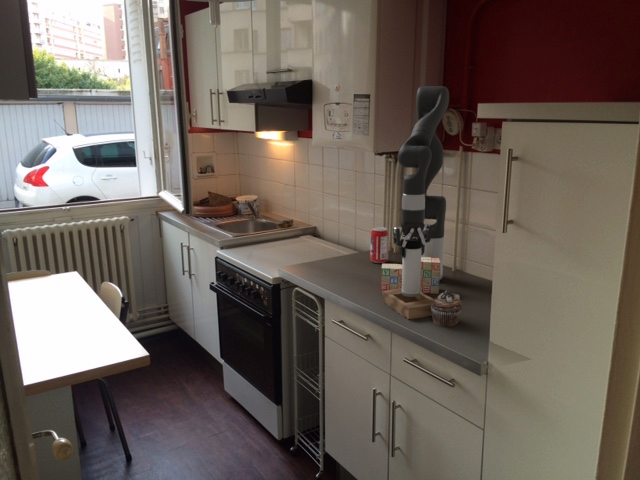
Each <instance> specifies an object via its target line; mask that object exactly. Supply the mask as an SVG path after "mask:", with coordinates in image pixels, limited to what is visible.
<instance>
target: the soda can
mask: <svg viewBox="0 0 640 480" xmlns="http://www.w3.org/2000/svg"><path fill="white" fill-rule="evenodd" d="M389 234H390V233H389V231H388V228H386V227H383V226H382V227H381V226H379V227H373V228H372V229H371V231H370V247H369V251H370V253H369V254H370V258H369V259H370V261H371V262H372V263H375V264H386V262H388V260H389Z"/></svg>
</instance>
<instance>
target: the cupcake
mask: <svg viewBox="0 0 640 480" xmlns="http://www.w3.org/2000/svg"><path fill="white" fill-rule="evenodd" d="M462 308H463V306H462V300H461V299H460V294H459V293H457V292H454V291H450V290H449V289H447V290H445V291H444V292H443V291H442V292H441V293H439V295H438V296H436V298H435V299H434V304H432V306H431V311H432V316H431V317H432V321H433V323H434V324H435V325H438V326H441V327H453V326H454V327H455V325H458V322H459V321H460V316H461V315H460V314H461V312H462Z"/></svg>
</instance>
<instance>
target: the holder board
mask: <svg viewBox="0 0 640 480" xmlns="http://www.w3.org/2000/svg"><path fill="white" fill-rule="evenodd" d="M381 293H382V294H381V295H382V300H381V301H382V303H383V304H385V305H386V306H388V307H389V308H390V307H391V309H392V310H393V309H394V311H395V312H396V311H397V312H396V313H398V314H399V313H400V314H399V315H401V316H402V315H403V316H402V317H404V318H405V317H406V319H407V320H408V319H410V320H415V319H419V318H421V319H422V318H426V317H432V311H431V306H432V304H434V300H435V299H434V298H433V297H431V296H429V295H427V294H426V293H422V292H420V295H419V296H417V297H406V296H404V295H402V288H401V289H394V290H387V291H381ZM414 318H415V319H414Z"/></svg>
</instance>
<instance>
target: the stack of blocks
mask: <svg viewBox="0 0 640 480" xmlns="http://www.w3.org/2000/svg"><path fill="white" fill-rule="evenodd" d="M380 278H381V280H380V281H381V282H380V283H381V285H380V286H381V287H380V290H381V292H382V291H387V290H394V289H401V288H402V264H401V263H400V264H399V263H381V277H380ZM439 278H440V260H439V258H431V257H423V258H422V257H421V284H420V292H422V293H424V294H439V295H440V293H439V290H440V280H439Z"/></svg>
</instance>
